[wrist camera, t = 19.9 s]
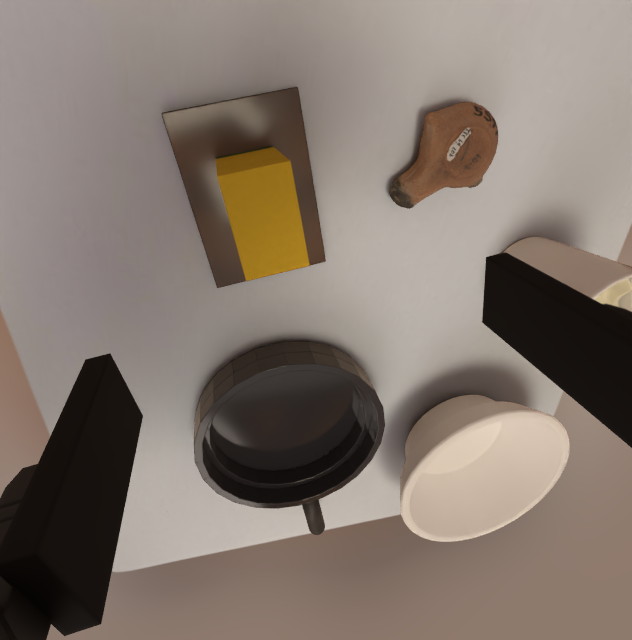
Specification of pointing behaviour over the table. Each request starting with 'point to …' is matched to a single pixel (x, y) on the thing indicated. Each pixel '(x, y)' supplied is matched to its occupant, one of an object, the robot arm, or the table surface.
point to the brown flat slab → (230, 138)
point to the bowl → (478, 466)
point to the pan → (286, 425)
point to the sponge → (263, 211)
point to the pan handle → (314, 517)
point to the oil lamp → (449, 153)
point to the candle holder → (578, 269)
